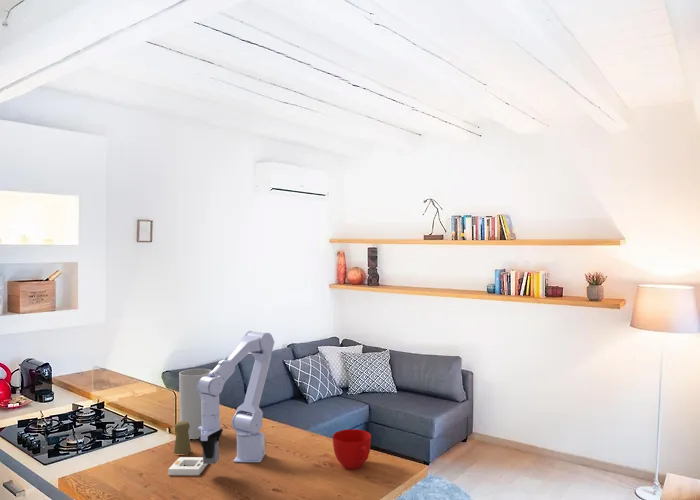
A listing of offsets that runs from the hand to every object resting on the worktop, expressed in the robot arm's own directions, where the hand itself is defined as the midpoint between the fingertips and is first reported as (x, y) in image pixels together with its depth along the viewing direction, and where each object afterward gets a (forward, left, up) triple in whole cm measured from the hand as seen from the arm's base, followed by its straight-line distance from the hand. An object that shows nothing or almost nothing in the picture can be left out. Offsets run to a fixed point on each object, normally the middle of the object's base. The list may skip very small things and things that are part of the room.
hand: (211, 455), depth 175 cm
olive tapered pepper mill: (+17, -19, -7) cm, 26 cm away
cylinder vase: (+18, -37, -7) cm, 41 cm away
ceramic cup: (-46, -7, -7) cm, 47 cm away
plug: (0, 0, -2) cm, 2 cm away
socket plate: (+9, -4, -6) cm, 12 cm away
